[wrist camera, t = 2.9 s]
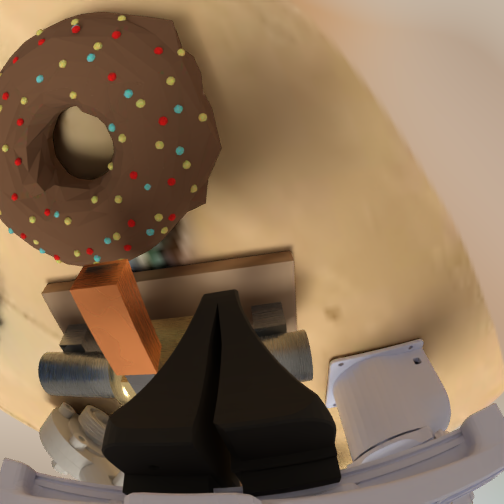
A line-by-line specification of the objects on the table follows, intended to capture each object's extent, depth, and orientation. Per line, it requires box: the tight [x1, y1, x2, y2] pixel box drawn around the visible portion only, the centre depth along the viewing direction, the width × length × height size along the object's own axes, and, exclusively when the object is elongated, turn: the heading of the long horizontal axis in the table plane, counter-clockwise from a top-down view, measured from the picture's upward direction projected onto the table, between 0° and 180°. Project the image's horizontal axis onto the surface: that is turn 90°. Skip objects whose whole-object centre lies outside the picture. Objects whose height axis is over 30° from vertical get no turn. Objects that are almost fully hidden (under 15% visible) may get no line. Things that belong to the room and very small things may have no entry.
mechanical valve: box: [39, 402, 124, 486], centre depth 27 cm, size 10×18×15 cm
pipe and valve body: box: [38, 302, 313, 405], centre depth 19 cm, size 18×5×6 cm, turn 96°
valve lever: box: [70, 259, 163, 394], centre depth 14 cm, size 11×2×2 cm, turn 6°
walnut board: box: [41, 251, 297, 334], centre depth 23 cm, size 18×9×1 cm, turn 96°
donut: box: [0, 12, 221, 266], centre depth 14 cm, size 14×14×5 cm
